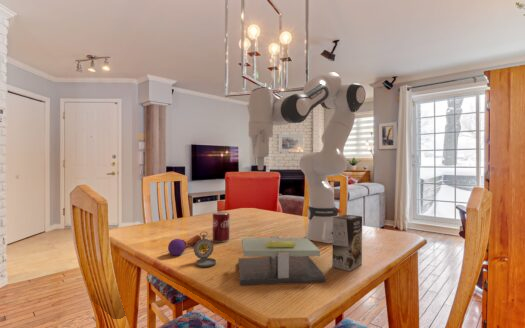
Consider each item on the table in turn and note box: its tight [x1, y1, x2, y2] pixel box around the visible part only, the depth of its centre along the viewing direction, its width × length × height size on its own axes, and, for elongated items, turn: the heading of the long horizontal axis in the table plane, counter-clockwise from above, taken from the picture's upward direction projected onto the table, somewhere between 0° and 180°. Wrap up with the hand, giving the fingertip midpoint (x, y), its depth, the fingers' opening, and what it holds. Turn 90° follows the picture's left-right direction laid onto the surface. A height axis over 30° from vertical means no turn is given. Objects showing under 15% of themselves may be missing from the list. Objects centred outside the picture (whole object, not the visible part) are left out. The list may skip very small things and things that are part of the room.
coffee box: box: [331, 214, 363, 272], centre depth 93 cm, size 9×6×16 cm
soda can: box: [212, 211, 231, 243], centre depth 123 cm, size 7×7×12 cm
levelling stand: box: [238, 236, 326, 286], centre depth 87 cm, size 24×18×8 cm
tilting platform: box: [241, 237, 321, 257], centre depth 87 cm, size 22×14×4 cm, turn 96°
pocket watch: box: [193, 231, 217, 268], centre depth 95 cm, size 8×8×10 cm
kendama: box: [167, 234, 202, 257], centre depth 111 cm, size 6×6×20 cm
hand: (260, 170), depth 103 cm, fingers closed
